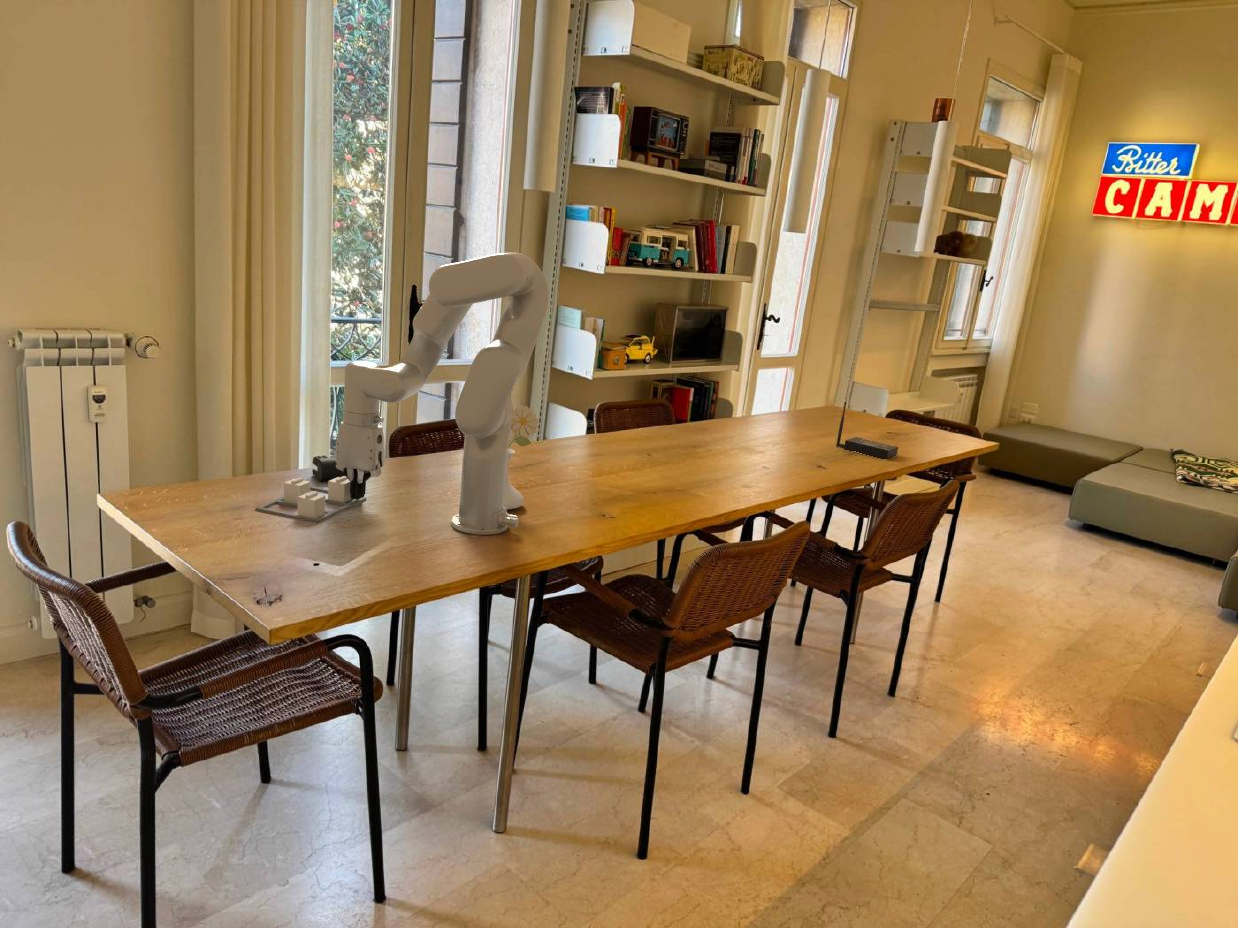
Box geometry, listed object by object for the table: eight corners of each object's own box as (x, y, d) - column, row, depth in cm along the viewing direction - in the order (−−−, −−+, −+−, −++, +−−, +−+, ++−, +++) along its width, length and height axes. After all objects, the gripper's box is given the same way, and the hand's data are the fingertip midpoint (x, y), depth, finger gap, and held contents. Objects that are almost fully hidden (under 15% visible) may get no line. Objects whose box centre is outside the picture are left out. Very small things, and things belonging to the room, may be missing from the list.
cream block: (324, 515, 186) (325, 493, 185) (314, 520, 182) (314, 497, 181) (308, 511, 187) (308, 489, 185) (297, 516, 183) (297, 494, 182)
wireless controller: (898, 456, 316) (907, 410, 311) (884, 461, 305) (894, 414, 300) (846, 443, 327) (854, 399, 322) (831, 448, 316) (839, 402, 311)
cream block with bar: (353, 498, 198) (353, 477, 197) (343, 502, 195) (344, 481, 193) (337, 495, 199) (338, 474, 198) (327, 499, 196) (328, 478, 194)
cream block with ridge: (310, 500, 194) (310, 479, 192) (299, 505, 190) (300, 483, 189) (294, 497, 195) (294, 475, 193) (283, 501, 191) (284, 480, 190)
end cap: (322, 489, 206) (322, 462, 205) (310, 481, 212) (311, 454, 210) (362, 485, 213) (363, 458, 211) (349, 477, 218) (350, 451, 216)
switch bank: (368, 505, 199) (368, 497, 198) (319, 529, 181) (319, 521, 181) (291, 489, 204) (291, 482, 203) (236, 511, 186) (236, 503, 185)
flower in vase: (479, 513, 202) (487, 408, 196) (473, 498, 213) (481, 397, 206) (534, 514, 206) (544, 411, 200) (526, 499, 217) (535, 401, 210)
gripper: (400, 421, 193) (395, 499, 198) (340, 409, 196) (337, 487, 201) (382, 427, 186) (378, 508, 190) (321, 415, 189) (318, 495, 194)
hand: (357, 497), depth 196 cm, fingers closed
